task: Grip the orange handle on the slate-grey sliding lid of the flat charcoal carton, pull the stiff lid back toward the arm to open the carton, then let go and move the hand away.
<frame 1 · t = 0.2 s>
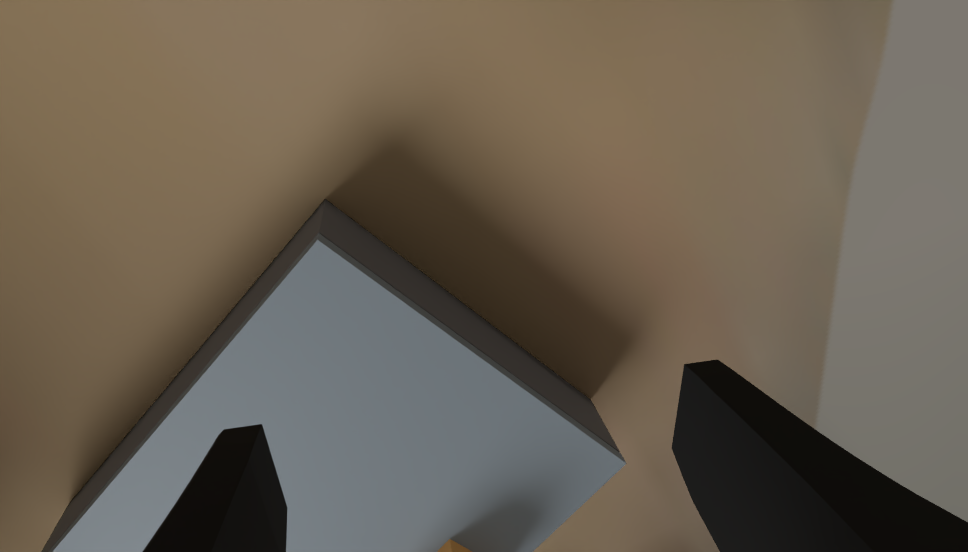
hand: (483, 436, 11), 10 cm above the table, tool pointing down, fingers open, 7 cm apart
carton: (340, 450, 23), on the table
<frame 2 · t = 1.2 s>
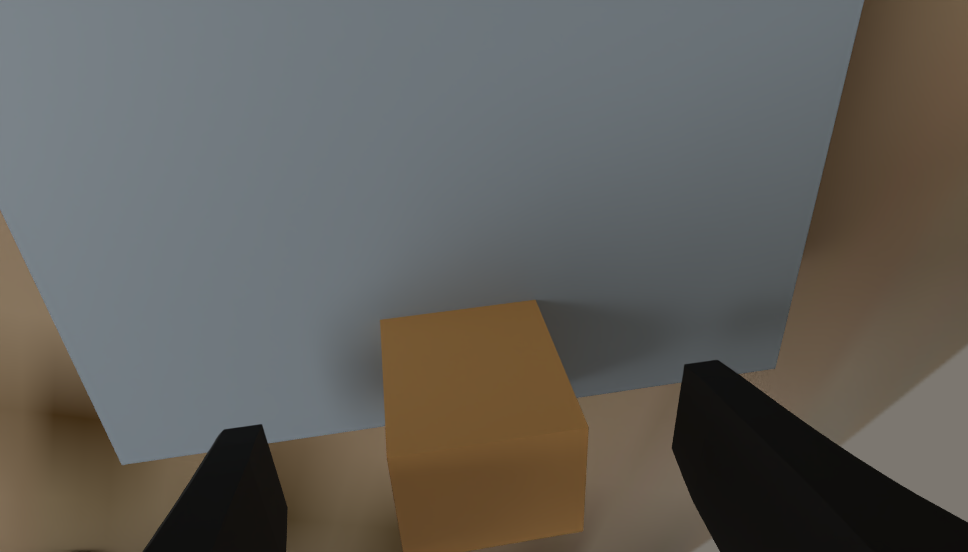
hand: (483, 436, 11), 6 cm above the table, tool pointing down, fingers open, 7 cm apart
carton lid: (457, 180, 10), point 5 cm above the table, slide at 0.0 cm
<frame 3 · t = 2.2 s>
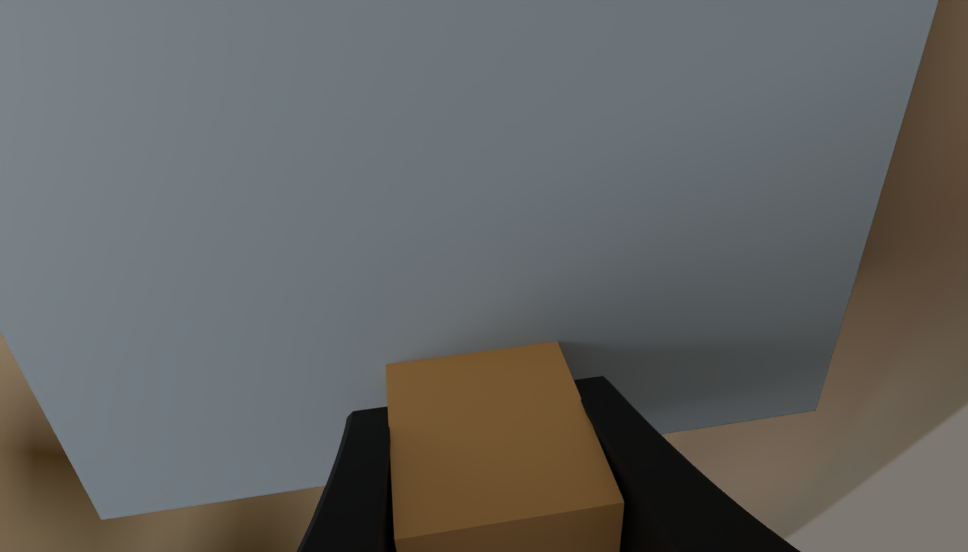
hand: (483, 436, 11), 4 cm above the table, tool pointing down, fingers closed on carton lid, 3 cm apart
carton lid: (475, 221, 8), point 5 cm above the table, slide at 0.0 cm, touching gripper
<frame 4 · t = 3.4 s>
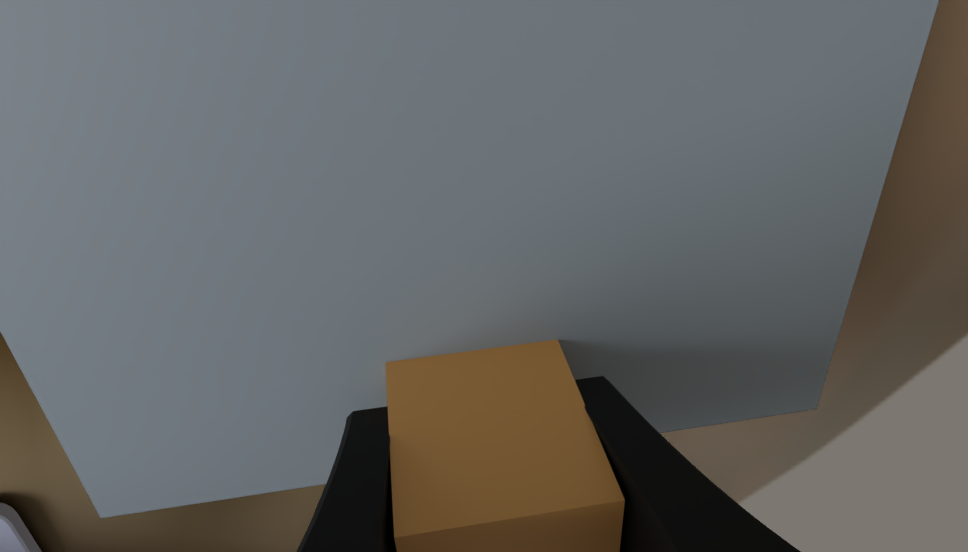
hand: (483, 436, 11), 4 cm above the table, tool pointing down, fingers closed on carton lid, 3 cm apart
carton lid: (475, 218, 8), point 5 cm above the table, slide at 4.0 cm, touching gripper
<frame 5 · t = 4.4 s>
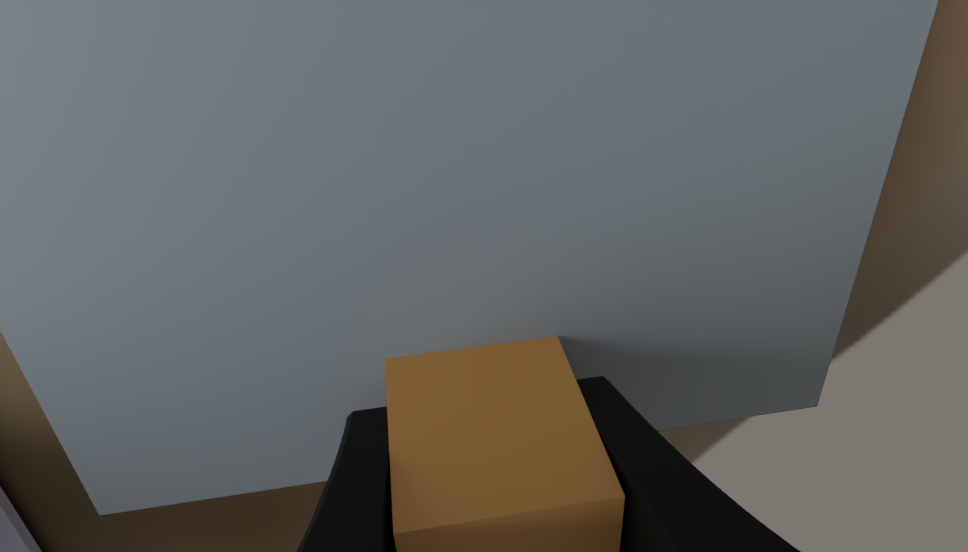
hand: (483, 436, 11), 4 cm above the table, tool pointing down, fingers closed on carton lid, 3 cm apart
carton lid: (475, 213, 8), point 5 cm above the table, slide at 7.9 cm, touching gripper
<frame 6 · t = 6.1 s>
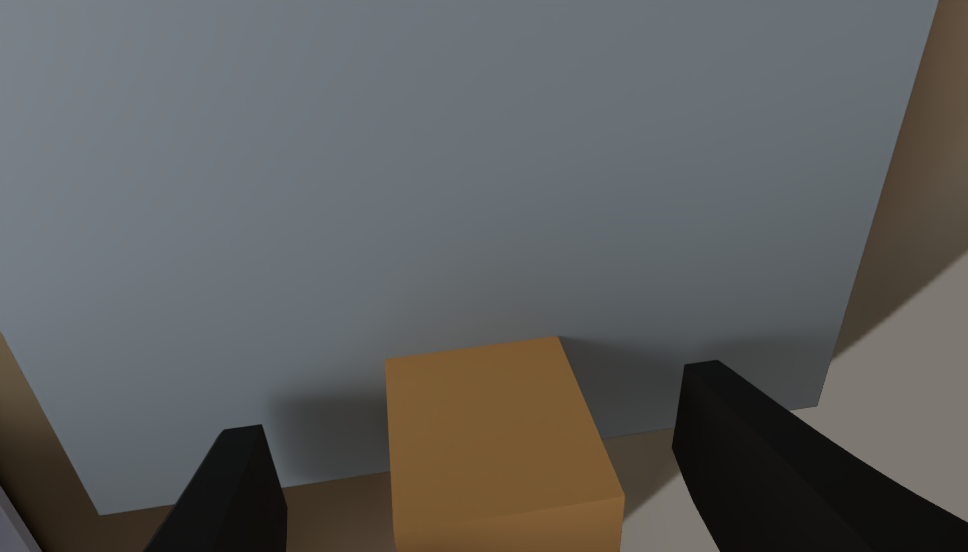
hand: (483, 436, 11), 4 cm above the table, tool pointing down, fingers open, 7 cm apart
carton lid: (475, 213, 8), point 5 cm above the table, slide at 7.9 cm
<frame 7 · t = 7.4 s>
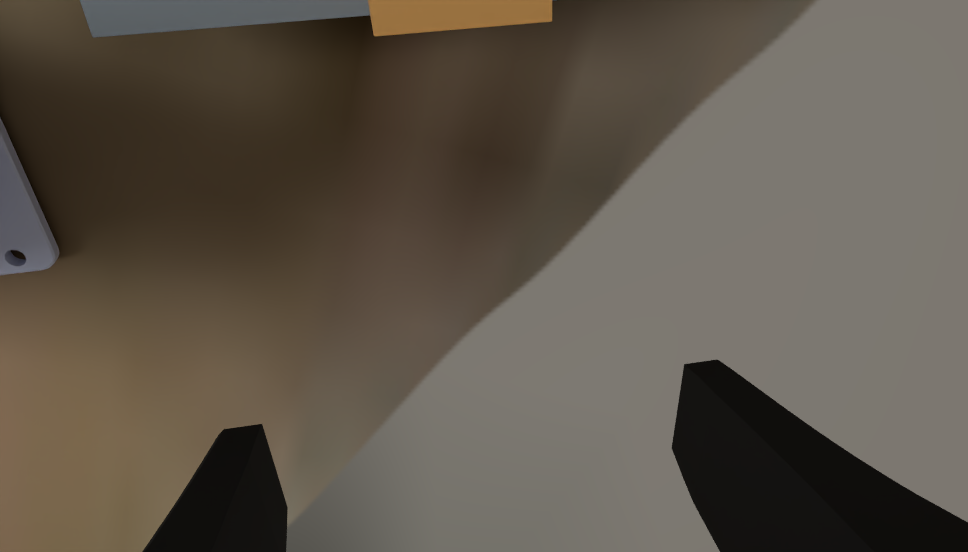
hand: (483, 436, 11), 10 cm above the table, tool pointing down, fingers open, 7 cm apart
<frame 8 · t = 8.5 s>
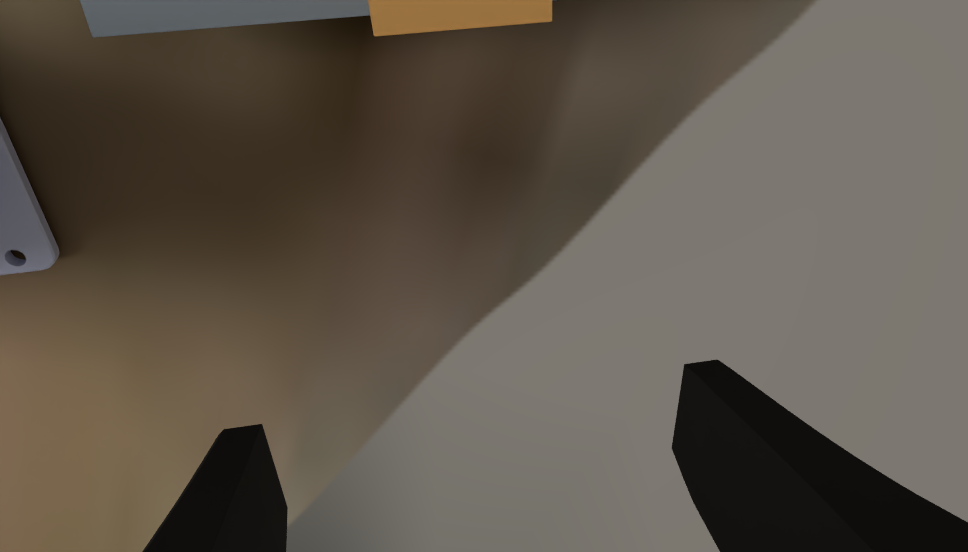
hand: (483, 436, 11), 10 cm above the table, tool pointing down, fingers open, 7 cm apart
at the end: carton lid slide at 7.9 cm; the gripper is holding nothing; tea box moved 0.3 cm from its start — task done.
